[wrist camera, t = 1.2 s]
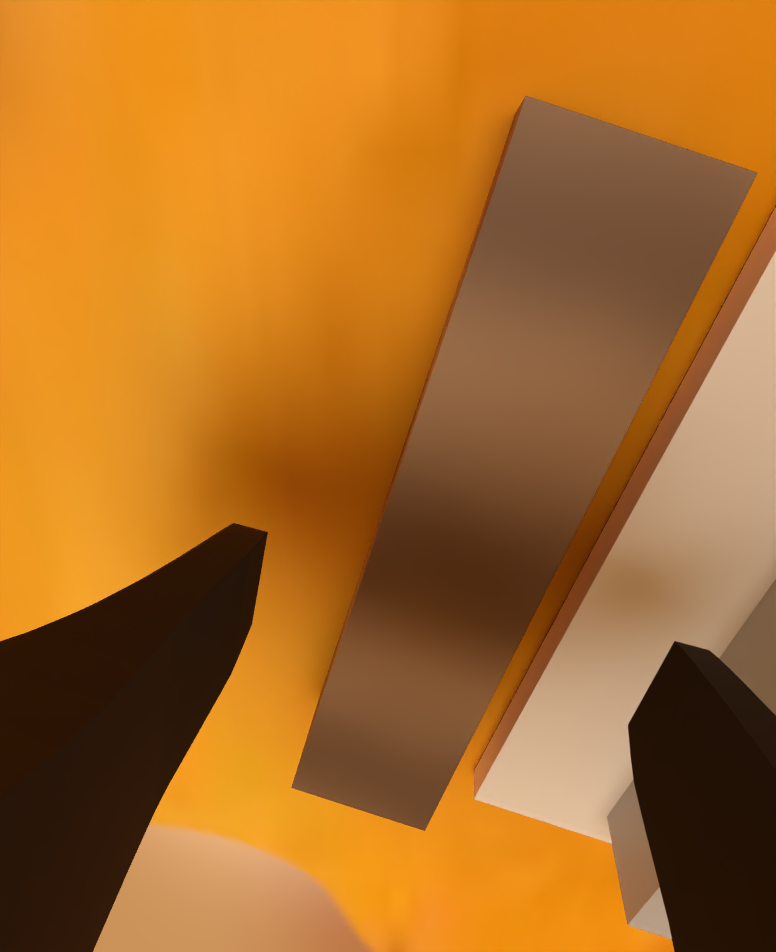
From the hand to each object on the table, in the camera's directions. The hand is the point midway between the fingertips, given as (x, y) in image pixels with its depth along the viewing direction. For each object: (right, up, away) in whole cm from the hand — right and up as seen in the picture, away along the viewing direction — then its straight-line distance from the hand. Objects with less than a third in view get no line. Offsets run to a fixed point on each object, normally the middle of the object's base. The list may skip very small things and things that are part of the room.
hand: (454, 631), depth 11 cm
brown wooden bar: (+1, +2, +5) cm, 6 cm away
